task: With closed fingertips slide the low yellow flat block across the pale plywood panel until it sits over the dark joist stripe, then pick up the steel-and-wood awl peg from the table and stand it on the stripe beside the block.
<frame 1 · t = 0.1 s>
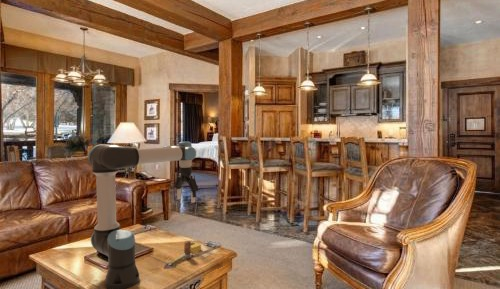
hand: (186, 200, 190), 27 cm above the table, fingers open, 13 cm apart
plywood panel: (200, 252, 179), on the table
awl: (187, 259, 169), on the table
yellow flat block: (192, 249, 180), point 1 cm above the table, touching plywood panel
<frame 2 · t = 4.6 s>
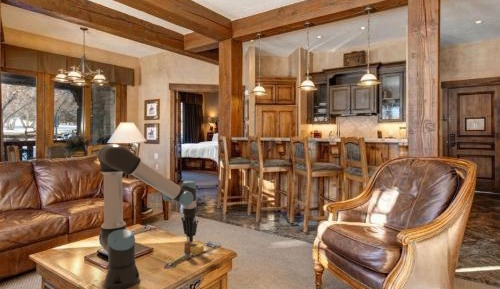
hand: (189, 246, 182), 2 cm above the table, fingers closed
yellow flat block: (195, 250, 179), point 1 cm above the table, touching gripper
everything else where it was.
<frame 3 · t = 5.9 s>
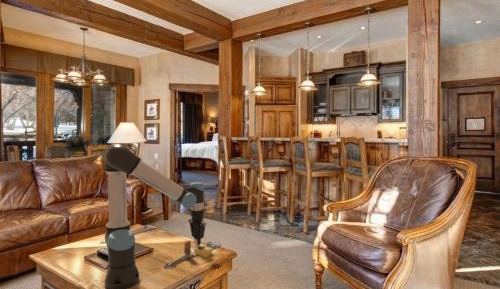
hand: (197, 249, 178), 2 cm above the table, fingers closed
yellow flat block: (203, 253, 175), point 1 cm above the table, touching gripper
everything else where it was.
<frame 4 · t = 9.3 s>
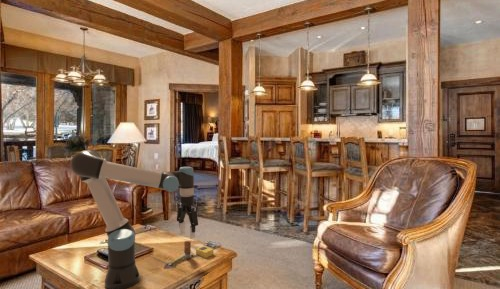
hand: (187, 236, 169), 13 cm above the table, fingers open, 8 cm apart
yellow flat block: (204, 254, 174), point 1 cm above the table, touching plywood panel
everything else where it was.
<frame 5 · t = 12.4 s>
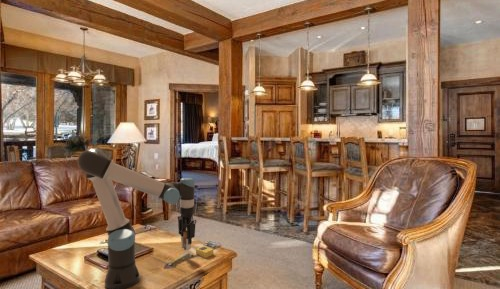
hand: (186, 248, 169), 6 cm above the table, fingers closed on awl, 3 cm apart
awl: (186, 249, 169), point 6 cm above the table, touching gripper
everything else where it was.
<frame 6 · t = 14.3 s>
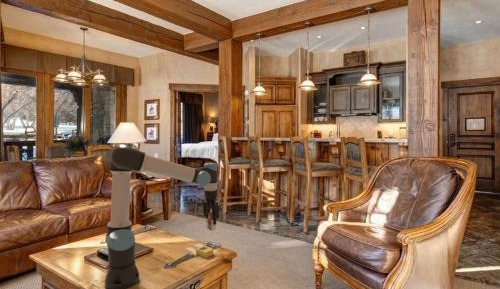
hand: (211, 229, 180), 13 cm above the table, fingers closed on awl, 3 cm apart
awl: (211, 229, 180), point 13 cm above the table, touching gripper
everything else where it was.
when the fingers open (2 cm above the table, at t = 16.4 s): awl stays where it is, resting on plywood panel.
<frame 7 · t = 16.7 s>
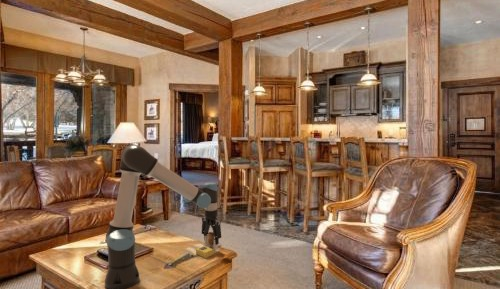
hand: (211, 247, 180), 2 cm above the table, fingers open, 7 cm apart
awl: (211, 249, 180), point 1 cm above the table, touching plywood panel
everything else where it was.
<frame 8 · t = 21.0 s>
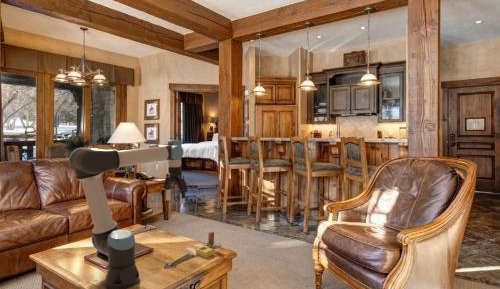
hand: (175, 201, 182), 29 cm above the table, fingers open, 13 cm apart
nothing on the table moved.
at the end: yellow flat block inside the target area (1.8 cm from its centre), point 1.2 cm above the table; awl 0.0 cm from the target spot, point 1.2 cm above the table; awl tilted 0° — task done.
